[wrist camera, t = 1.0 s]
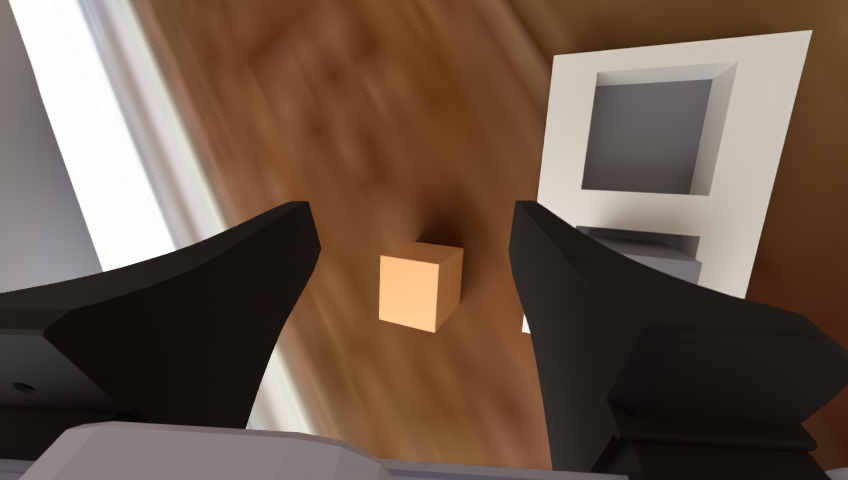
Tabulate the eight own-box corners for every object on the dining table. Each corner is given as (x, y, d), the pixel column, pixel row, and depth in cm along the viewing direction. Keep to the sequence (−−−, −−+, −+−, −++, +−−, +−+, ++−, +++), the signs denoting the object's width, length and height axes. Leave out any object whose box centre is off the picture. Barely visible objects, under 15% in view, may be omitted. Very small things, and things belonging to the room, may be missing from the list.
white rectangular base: (700, 348, 19) (759, 414, 13) (526, 314, 22) (516, 354, 17) (767, 57, 16) (880, -13, 10) (554, 74, 19) (553, 29, 14)
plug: (459, 302, 24) (434, 332, 19) (413, 293, 26) (379, 319, 21) (463, 248, 24) (438, 264, 19) (415, 241, 25) (380, 255, 20)
